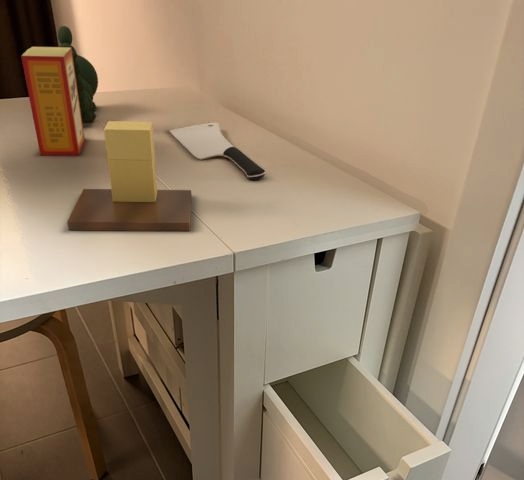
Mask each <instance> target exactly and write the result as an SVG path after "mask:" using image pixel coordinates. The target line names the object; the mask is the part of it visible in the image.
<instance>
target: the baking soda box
mask: <svg viewBox="0 0 524 480" xmlns="http://www.w3.org/2000/svg"><path fill="white" fill-rule="evenodd" d="M20 58H21V62H22V68H23V73H24V78H25V83H26V89H27V93H28V99H29V103H30V109H31V114H32V119H33V120H32V121H33V125H34V130H35V135H36V138H37V145H38V149H39V154H40V156H79V155H80V153H81V150H82V149H83V145H84V143H85V139H86V138H85V131H84V124H83V120H82V117H81V110H80V103H79V96H78V89H77V83H76V76H75V69H74V62H73V55H72V48H71V47H59V46H31V47H30V48H28V49H26V51H25V52H23V53H22V55H21V56H20Z"/></svg>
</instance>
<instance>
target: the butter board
mask: <svg viewBox="0 0 524 480" xmlns="http://www.w3.org/2000/svg"><path fill="white" fill-rule="evenodd" d="M191 210H192V190H191V189H157V196H156V201H155V202H113V198H112V190H111V188H83V189H82V191H81V193H80V195H79V197H78V198H77V201H76V203H75V205H74V207H73V209H72V210H71V213H70V215H69V217H68V219H67V221H66V225H67V229H68V231H130V232H131V231H132V232H133V231H140V232H142V231H143V232H145V231H147V232H149V231H150V232H152V231H153V232H156V231H158V232H161V231H162V232H163V231H164V232H167V231H169V232H190V227H191V213H192V211H191Z"/></svg>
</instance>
